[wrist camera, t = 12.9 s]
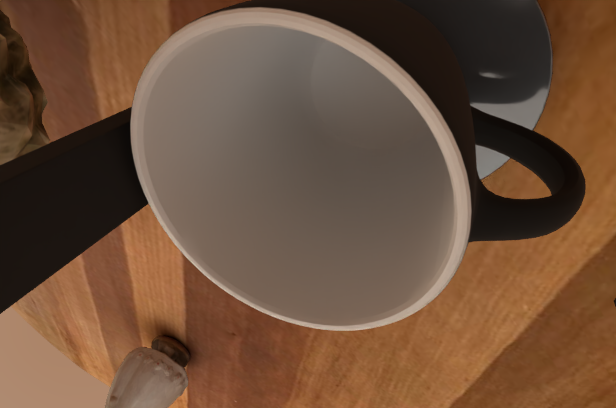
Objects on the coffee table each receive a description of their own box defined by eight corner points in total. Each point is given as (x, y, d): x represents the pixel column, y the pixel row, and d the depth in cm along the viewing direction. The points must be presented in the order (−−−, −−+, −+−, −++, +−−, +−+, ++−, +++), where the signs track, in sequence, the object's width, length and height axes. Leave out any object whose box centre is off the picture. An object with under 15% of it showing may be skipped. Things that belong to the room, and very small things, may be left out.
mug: (281, 151, 21) (159, 275, 13) (285, -40, 15) (83, -22, 8) (511, 210, 18) (530, 418, 10) (617, -5, 12) (830, 83, 5)
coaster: (606, -58, 12) (611, -57, 12) (499, 212, 19) (500, 219, 18) (297, -65, 15) (291, -65, 15) (296, 167, 22) (292, 172, 21)
